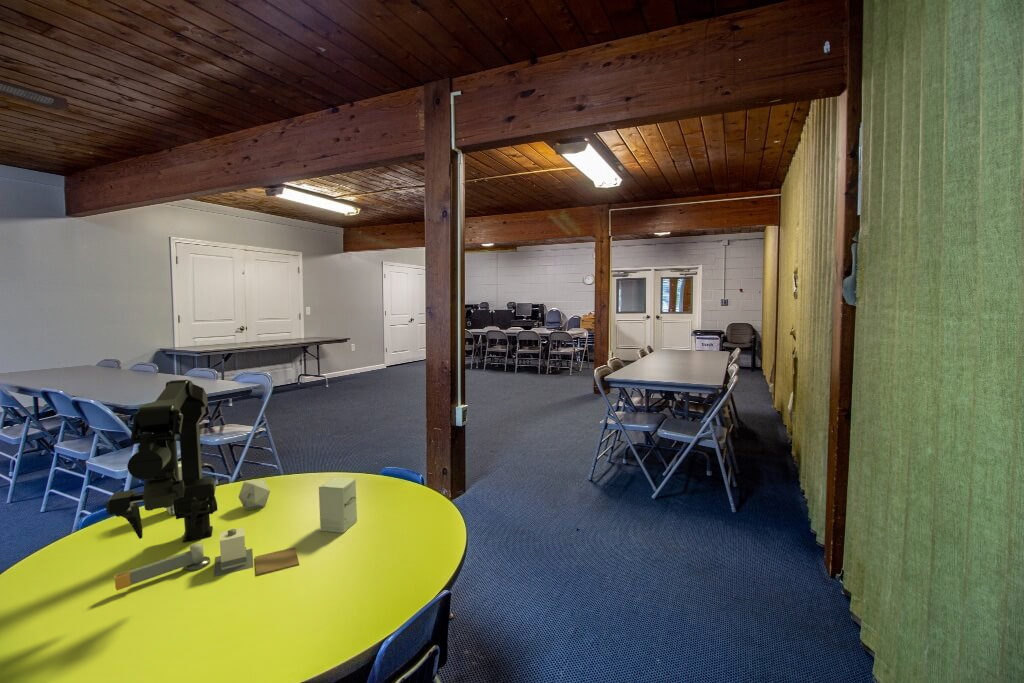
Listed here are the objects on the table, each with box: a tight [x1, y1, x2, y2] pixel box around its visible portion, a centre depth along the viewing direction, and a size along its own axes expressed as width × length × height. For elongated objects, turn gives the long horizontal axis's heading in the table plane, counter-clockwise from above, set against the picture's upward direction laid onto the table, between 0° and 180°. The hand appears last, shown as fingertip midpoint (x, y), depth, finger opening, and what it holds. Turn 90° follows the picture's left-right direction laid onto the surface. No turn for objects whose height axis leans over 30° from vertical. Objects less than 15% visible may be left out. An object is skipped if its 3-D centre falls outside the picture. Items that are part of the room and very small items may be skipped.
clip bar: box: [114, 542, 205, 591], centre depth 110 cm, size 16×3×4 cm, turn 137°
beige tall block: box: [219, 526, 247, 570], centre depth 116 cm, size 5×5×8 cm
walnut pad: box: [254, 546, 300, 577], centre depth 117 cm, size 9×9×1 cm
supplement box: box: [318, 477, 358, 534], centre depth 135 cm, size 7×7×13 cm
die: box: [238, 478, 271, 511], centre depth 148 cm, size 8×9×10 cm
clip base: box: [184, 555, 211, 572], centre depth 115 cm, size 5×5×1 cm
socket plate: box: [213, 548, 254, 578], centre depth 116 cm, size 10×8×1 cm
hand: (167, 532), depth 105 cm, fingers open, 9 cm apart
